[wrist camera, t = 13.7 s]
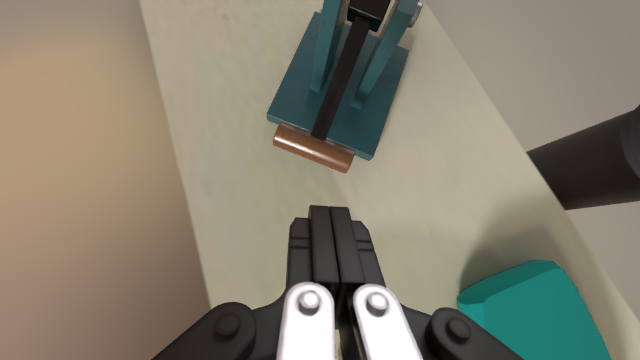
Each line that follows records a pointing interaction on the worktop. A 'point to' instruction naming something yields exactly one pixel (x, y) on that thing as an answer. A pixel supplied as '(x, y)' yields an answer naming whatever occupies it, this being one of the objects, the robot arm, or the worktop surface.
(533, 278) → the spray bottle
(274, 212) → the worktop surface
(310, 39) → the teal lever stand
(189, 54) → the worktop surface
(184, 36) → the worktop surface
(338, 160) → the lever handle
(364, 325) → the robot arm
